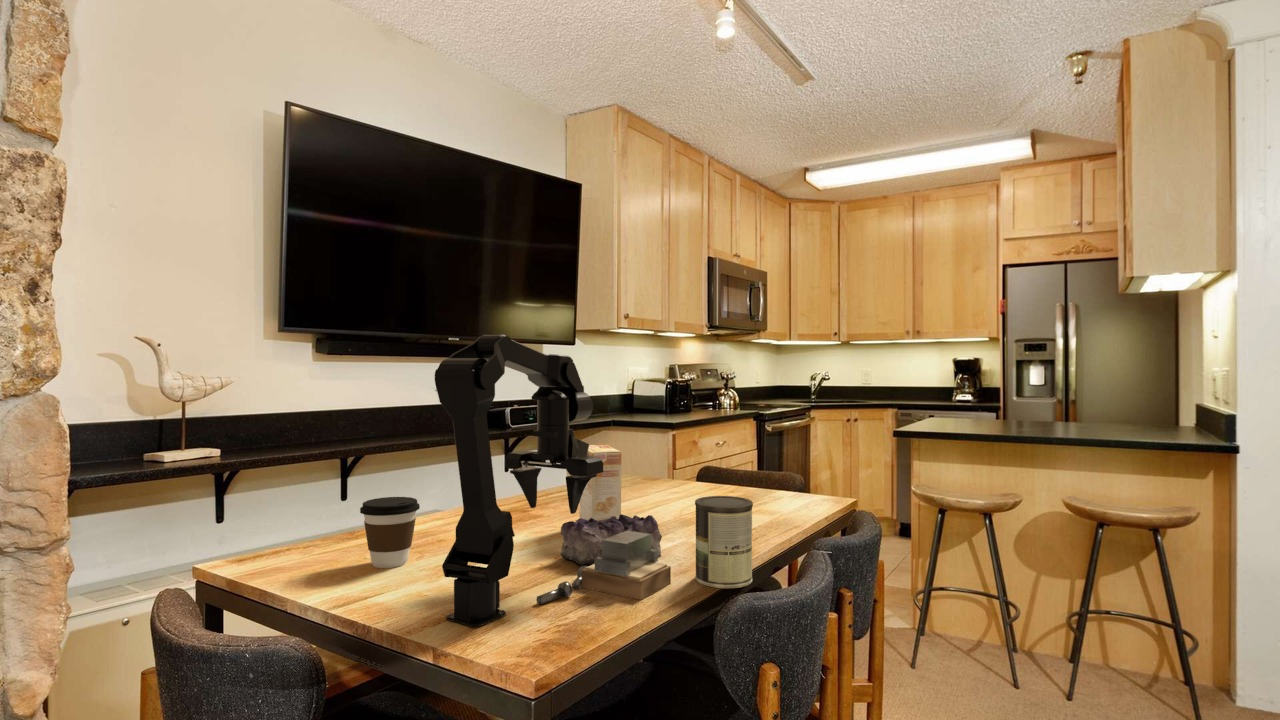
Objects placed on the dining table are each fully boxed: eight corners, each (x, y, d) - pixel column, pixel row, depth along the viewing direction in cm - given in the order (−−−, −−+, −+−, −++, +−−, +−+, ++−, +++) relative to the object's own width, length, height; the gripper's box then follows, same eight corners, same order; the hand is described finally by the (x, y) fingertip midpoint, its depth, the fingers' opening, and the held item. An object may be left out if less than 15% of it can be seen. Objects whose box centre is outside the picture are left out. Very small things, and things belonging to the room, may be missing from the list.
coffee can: (683, 580, 122) (683, 501, 122) (715, 567, 130) (715, 493, 130) (733, 593, 115) (733, 509, 116) (763, 578, 123) (763, 500, 124)
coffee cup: (431, 561, 134) (431, 500, 134) (383, 575, 125) (383, 509, 125) (395, 553, 140) (396, 494, 140) (347, 565, 131) (347, 502, 131)
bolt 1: (540, 609, 109) (548, 601, 108) (533, 595, 110) (541, 588, 109) (566, 598, 114) (574, 591, 113) (560, 586, 115) (567, 578, 114)
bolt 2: (582, 590, 117) (583, 576, 117) (568, 588, 117) (569, 574, 117) (590, 579, 123) (591, 566, 123) (577, 578, 123) (578, 564, 123)
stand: (640, 599, 112) (640, 578, 112) (581, 587, 118) (581, 567, 118) (670, 583, 120) (670, 564, 120) (613, 572, 127) (613, 554, 127)
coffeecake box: (622, 539, 151) (622, 451, 151) (590, 541, 149) (590, 452, 150) (607, 524, 166) (607, 443, 166) (578, 526, 164) (578, 444, 164)
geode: (649, 547, 146) (653, 501, 144) (668, 570, 135) (673, 520, 134) (555, 551, 139) (558, 503, 138) (567, 575, 128) (571, 524, 127)
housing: (626, 576, 113) (626, 546, 113) (594, 570, 117) (594, 540, 117) (657, 561, 122) (657, 533, 122) (627, 556, 125) (627, 528, 125)
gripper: (620, 423, 126) (620, 508, 126) (541, 419, 136) (541, 498, 136) (584, 428, 117) (584, 519, 117) (503, 423, 127) (502, 507, 126)
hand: (552, 510), depth 124 cm, fingers open, 9 cm apart
